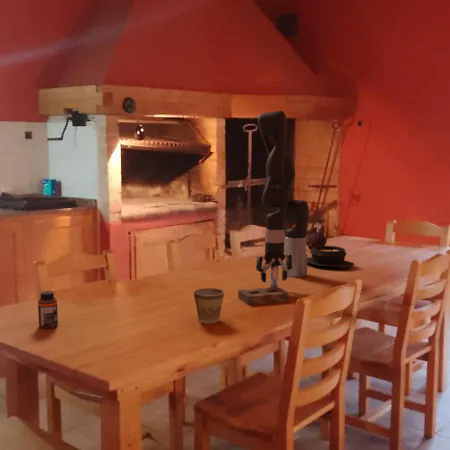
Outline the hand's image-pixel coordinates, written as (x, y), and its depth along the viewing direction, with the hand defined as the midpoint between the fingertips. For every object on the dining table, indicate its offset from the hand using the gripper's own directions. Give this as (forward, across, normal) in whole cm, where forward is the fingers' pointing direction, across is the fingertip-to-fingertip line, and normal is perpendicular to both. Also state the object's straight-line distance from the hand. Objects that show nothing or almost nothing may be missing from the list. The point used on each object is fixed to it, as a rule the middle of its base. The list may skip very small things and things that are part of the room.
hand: (273, 281), depth 249 cm
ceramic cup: (+5, +35, +26) cm, 44 cm away
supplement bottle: (+5, +87, +16) cm, 89 cm away
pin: (+4, 0, 0) cm, 4 cm away
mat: (+4, 0, 0) cm, 4 cm away
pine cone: (+5, -58, -72) cm, 93 cm away
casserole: (+5, -45, -37) cm, 58 cm away
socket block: (+4, +9, +10) cm, 14 cm away
